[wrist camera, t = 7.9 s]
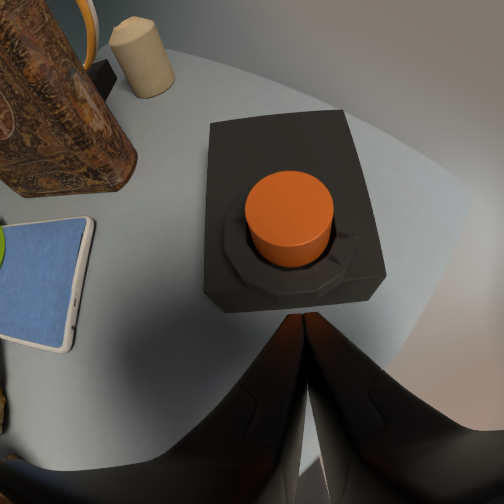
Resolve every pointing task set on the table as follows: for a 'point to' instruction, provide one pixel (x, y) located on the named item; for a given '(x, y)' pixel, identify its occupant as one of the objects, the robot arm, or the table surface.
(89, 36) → the lamp
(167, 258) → the table surface
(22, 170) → the book
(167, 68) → the candle
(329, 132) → the button base
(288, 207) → the power button
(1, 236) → the decorative leaf
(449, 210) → the table surface
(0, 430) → the seashell
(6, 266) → the tablet
